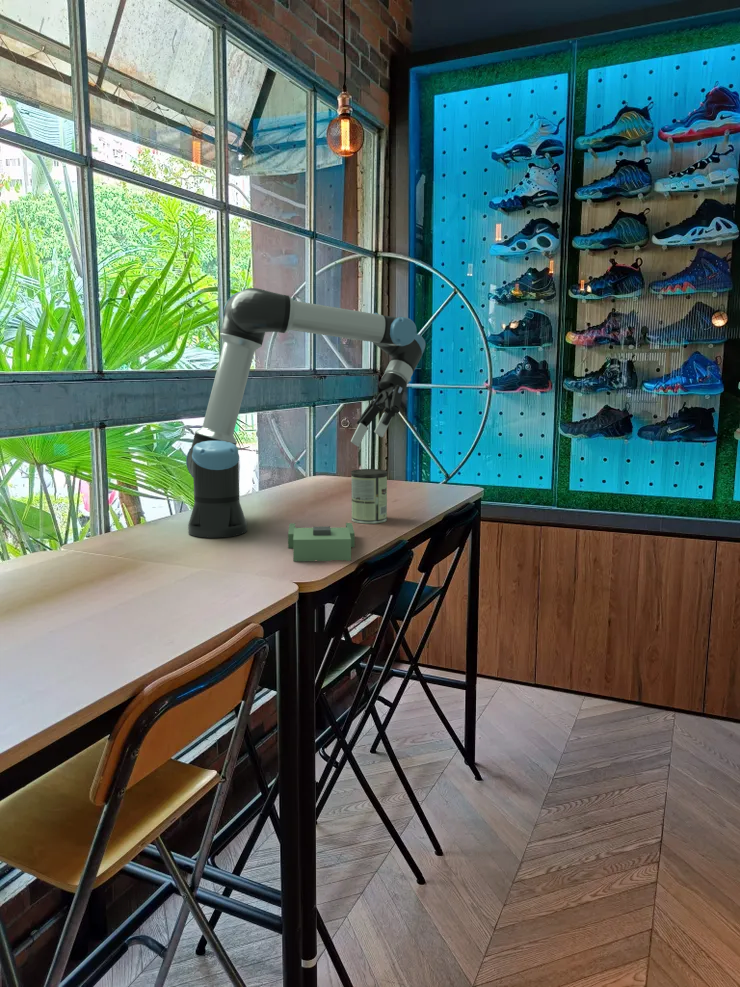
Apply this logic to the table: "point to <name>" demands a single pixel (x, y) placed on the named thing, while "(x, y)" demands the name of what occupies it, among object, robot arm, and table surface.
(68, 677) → the table surface
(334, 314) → the robot arm
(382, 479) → the coffee can
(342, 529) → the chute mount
